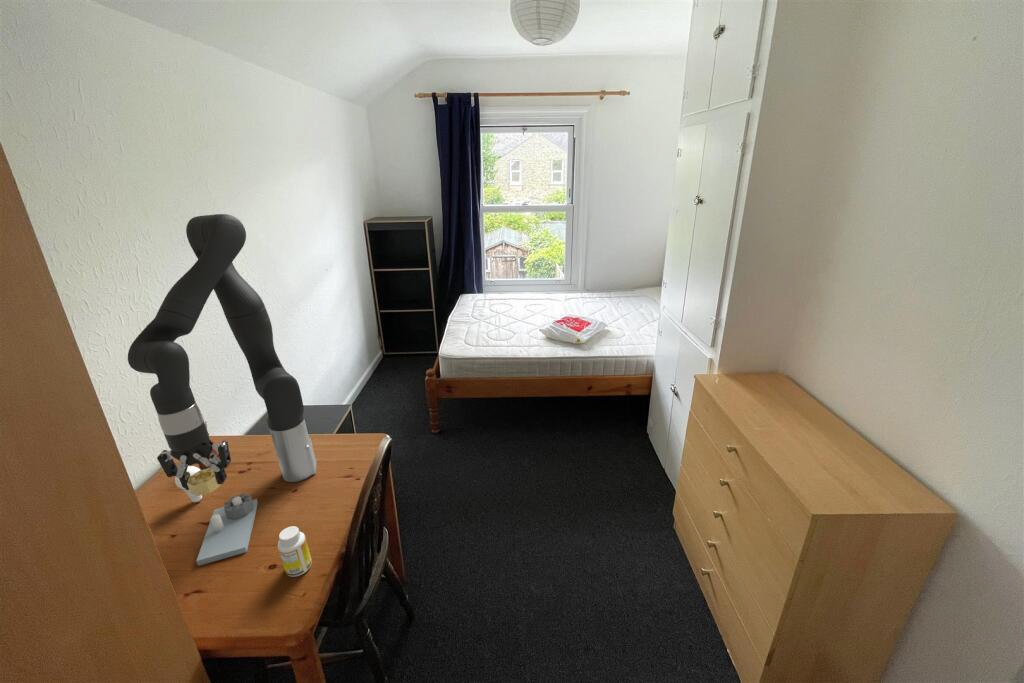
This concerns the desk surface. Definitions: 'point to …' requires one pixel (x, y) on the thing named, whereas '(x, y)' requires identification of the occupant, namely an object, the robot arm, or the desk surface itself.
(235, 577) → the desk surface
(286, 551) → the supplement bottle
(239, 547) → the gear board
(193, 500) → the lightbulb
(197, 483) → the brass gear
